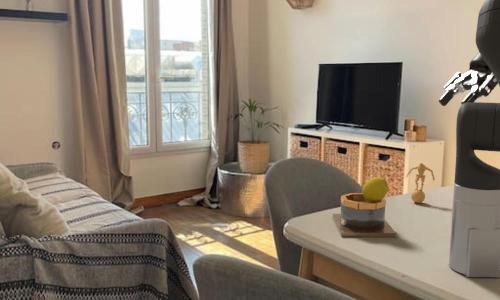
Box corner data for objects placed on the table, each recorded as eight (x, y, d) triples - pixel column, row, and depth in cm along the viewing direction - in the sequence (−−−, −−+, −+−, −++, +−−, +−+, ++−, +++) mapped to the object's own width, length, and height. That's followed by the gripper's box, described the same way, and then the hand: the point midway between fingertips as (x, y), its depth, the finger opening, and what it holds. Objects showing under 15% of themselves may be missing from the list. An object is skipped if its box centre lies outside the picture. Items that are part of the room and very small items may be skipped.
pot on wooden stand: (395, 237, 118) (397, 206, 117) (341, 236, 119) (342, 206, 117) (380, 217, 134) (381, 190, 133) (332, 217, 134) (333, 190, 133)
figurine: (402, 202, 150) (404, 163, 148) (407, 198, 155) (409, 160, 153) (430, 206, 146) (432, 166, 144) (435, 201, 151) (437, 163, 149)
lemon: (375, 200, 128) (394, 179, 123) (373, 212, 123) (393, 191, 119) (357, 188, 128) (376, 167, 123) (354, 199, 123) (374, 178, 119)
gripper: (465, 49, 131) (426, 93, 129) (507, 46, 117) (463, 95, 116) (481, 69, 133) (442, 112, 132) (523, 69, 120) (480, 117, 118)
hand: (452, 104), depth 124 cm, fingers open, 8 cm apart
